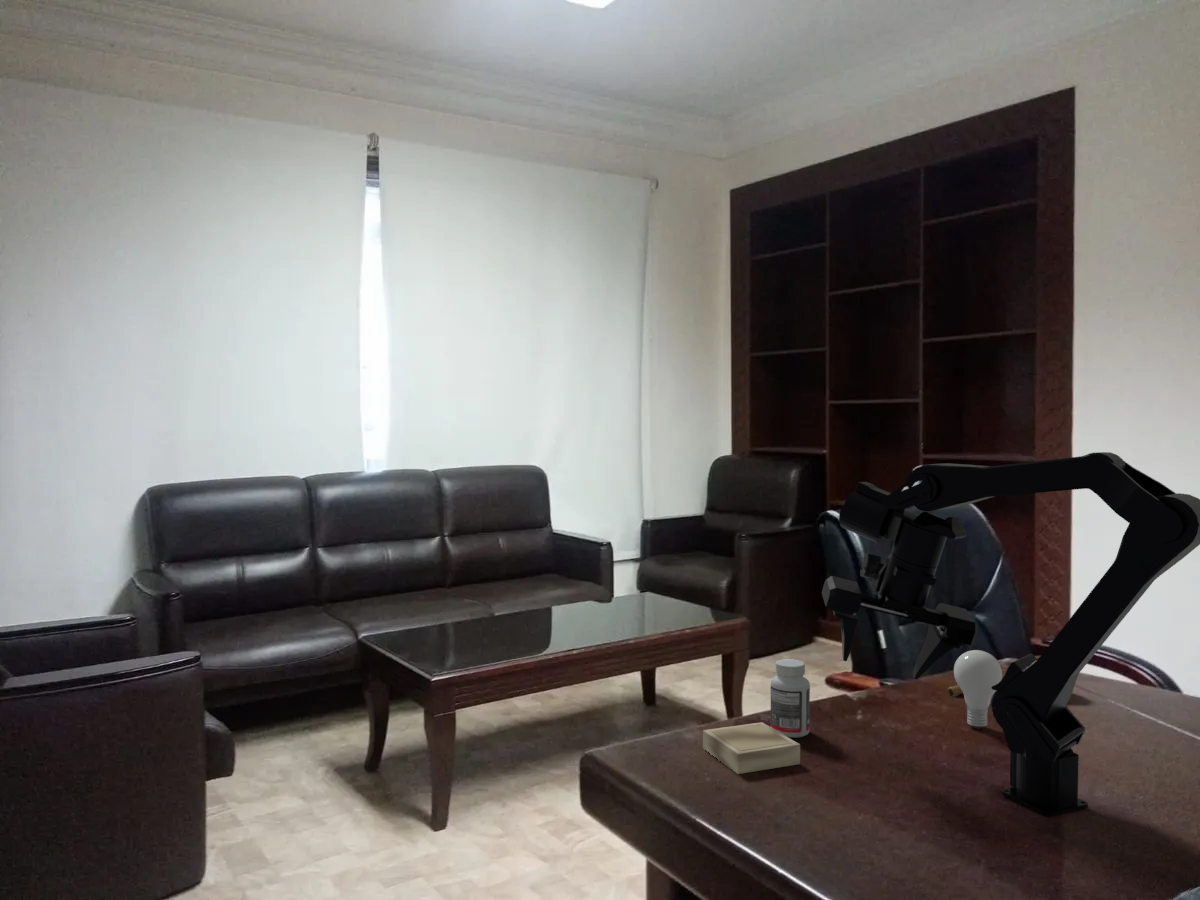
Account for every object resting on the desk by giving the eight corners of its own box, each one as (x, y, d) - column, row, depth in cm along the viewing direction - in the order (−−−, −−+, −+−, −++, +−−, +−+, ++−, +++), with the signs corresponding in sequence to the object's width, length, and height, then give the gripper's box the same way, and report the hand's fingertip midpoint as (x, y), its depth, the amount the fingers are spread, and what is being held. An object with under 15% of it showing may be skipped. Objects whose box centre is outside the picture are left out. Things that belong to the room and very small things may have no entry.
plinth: (799, 764, 111) (800, 744, 111) (737, 774, 107) (738, 753, 107) (761, 740, 119) (761, 721, 119) (702, 749, 116) (703, 729, 116)
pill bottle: (786, 723, 126) (787, 655, 126) (817, 733, 122) (818, 663, 122) (762, 731, 123) (762, 661, 123) (793, 741, 119) (793, 670, 118)
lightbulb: (1009, 735, 121) (1010, 656, 121) (963, 735, 121) (964, 656, 121) (990, 720, 128) (991, 645, 127) (946, 719, 128) (947, 645, 128)
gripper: (971, 555, 118) (936, 659, 121) (833, 522, 119) (803, 625, 123) (996, 585, 107) (957, 698, 110) (844, 548, 108) (810, 661, 112)
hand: (879, 668), depth 114 cm, fingers open, 9 cm apart
